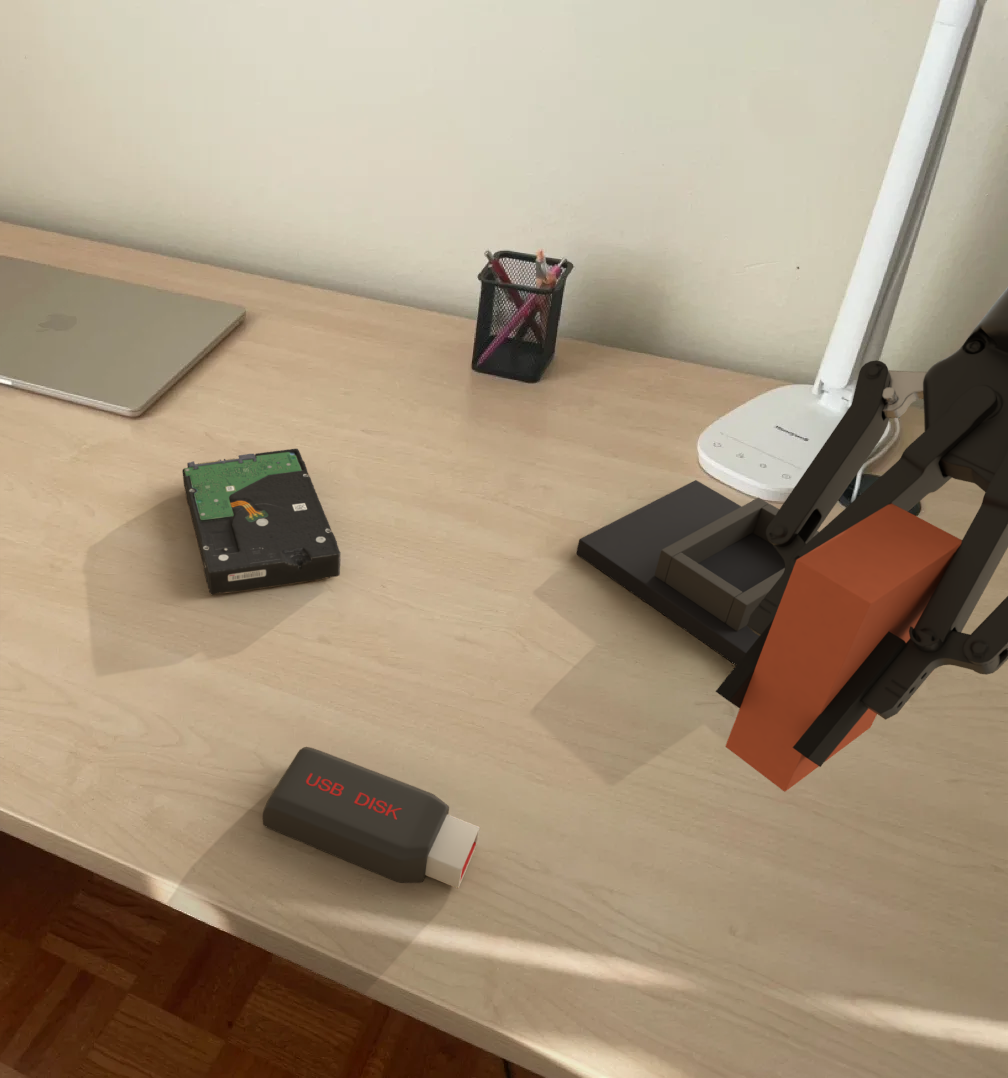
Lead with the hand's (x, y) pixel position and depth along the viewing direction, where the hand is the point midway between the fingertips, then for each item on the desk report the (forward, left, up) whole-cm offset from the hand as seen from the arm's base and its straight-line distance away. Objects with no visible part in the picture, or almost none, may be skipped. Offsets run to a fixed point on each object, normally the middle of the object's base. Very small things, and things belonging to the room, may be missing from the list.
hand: (768, 728), depth 49 cm
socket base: (+2, -30, -16) cm, 34 cm away
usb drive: (+18, +3, -16) cm, 24 cm away
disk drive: (+38, -20, -16) cm, 46 cm away
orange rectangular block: (-2, -3, -3) cm, 5 cm away
